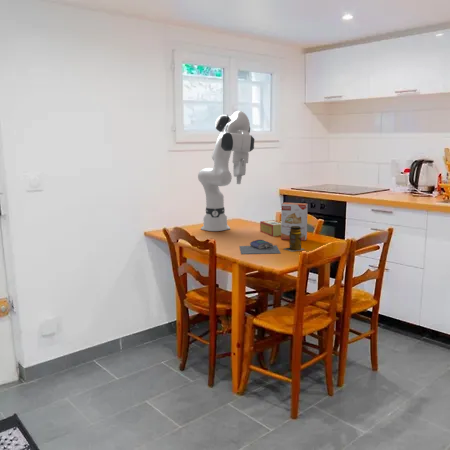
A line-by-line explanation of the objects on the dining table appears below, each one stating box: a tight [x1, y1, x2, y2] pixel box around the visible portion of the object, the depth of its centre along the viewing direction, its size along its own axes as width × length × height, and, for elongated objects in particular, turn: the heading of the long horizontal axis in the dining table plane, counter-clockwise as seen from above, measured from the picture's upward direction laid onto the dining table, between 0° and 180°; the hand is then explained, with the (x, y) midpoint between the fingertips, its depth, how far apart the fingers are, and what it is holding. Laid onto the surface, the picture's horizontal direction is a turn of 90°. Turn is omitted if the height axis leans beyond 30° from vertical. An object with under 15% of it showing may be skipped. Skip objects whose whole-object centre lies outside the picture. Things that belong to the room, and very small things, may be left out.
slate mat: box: [239, 244, 282, 255], centre depth 247 cm, size 17×20×1 cm
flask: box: [249, 239, 274, 249], centre depth 252 cm, size 9×3×11 cm
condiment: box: [283, 226, 305, 252], centre depth 246 cm, size 7×8×12 cm
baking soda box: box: [259, 219, 281, 237], centre depth 288 cm, size 10×6×16 cm
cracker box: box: [280, 202, 309, 242], centre depth 269 cm, size 14×6×21 cm, turn 70°
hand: (238, 184), depth 267 cm, fingers closed
